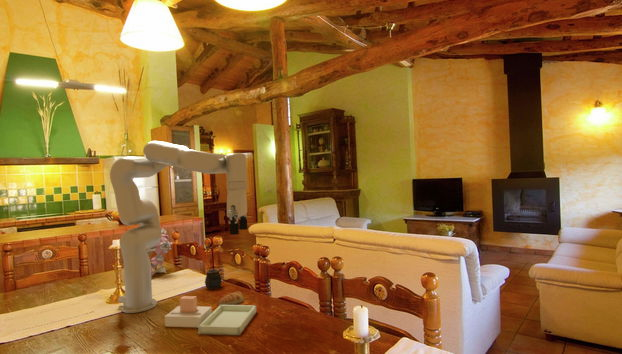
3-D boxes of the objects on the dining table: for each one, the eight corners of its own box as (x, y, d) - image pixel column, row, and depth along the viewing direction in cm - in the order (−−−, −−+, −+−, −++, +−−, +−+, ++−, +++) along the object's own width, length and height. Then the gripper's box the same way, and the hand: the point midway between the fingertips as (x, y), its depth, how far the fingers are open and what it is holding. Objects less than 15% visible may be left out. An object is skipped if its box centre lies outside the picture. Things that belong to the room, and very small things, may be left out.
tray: (198, 333, 113) (198, 326, 113) (220, 311, 130) (220, 304, 130) (239, 335, 111) (239, 327, 111) (256, 312, 128) (256, 305, 128)
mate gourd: (219, 284, 162) (218, 263, 162) (224, 288, 156) (223, 266, 156) (203, 287, 159) (202, 265, 158) (208, 292, 152) (207, 269, 152)
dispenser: (165, 326, 119) (164, 315, 119) (178, 315, 128) (178, 305, 128) (200, 327, 117) (200, 316, 117) (211, 316, 126) (211, 305, 126)
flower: (119, 273, 181) (120, 233, 172) (160, 259, 199) (164, 222, 189) (136, 296, 171) (139, 255, 161) (178, 279, 188) (183, 241, 179)
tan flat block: (180, 321, 122) (179, 298, 122) (184, 318, 124) (183, 296, 124) (194, 321, 121) (193, 298, 121) (197, 318, 124) (196, 296, 123)
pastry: (223, 308, 133) (222, 299, 133) (215, 304, 139) (215, 294, 138) (244, 302, 139) (244, 292, 139) (237, 298, 144) (236, 288, 144)
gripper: (235, 185, 138) (237, 228, 138) (218, 188, 121) (220, 236, 121) (253, 184, 137) (255, 227, 137) (238, 187, 120) (240, 236, 120)
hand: (239, 231), depth 129 cm, fingers open, 9 cm apart
